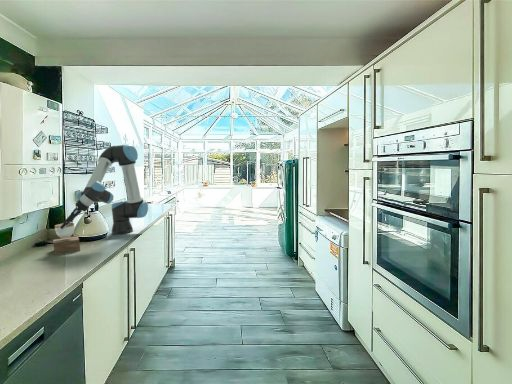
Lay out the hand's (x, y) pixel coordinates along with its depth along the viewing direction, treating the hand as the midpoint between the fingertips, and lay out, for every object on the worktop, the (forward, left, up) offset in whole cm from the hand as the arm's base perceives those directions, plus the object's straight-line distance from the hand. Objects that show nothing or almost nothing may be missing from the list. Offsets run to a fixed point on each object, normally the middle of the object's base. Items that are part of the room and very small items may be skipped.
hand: (59, 230), depth 242 cm
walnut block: (0, +3, -13) cm, 13 cm away
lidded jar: (0, +3, -4) cm, 5 cm away
